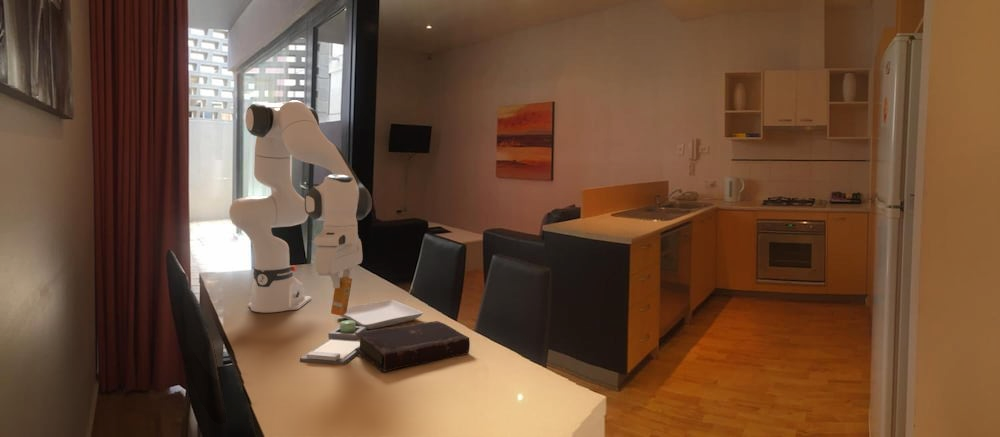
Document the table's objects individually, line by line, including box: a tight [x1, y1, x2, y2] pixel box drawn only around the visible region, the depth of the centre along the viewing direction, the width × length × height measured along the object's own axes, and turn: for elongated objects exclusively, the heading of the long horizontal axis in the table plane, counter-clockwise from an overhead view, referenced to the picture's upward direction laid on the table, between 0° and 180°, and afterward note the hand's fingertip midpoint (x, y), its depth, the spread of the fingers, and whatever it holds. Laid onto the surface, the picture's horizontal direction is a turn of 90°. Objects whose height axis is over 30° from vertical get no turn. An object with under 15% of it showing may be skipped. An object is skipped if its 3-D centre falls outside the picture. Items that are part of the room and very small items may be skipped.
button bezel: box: [327, 325, 367, 341], centre depth 159 cm, size 8×8×2 cm
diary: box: [355, 320, 471, 372], centre depth 146 cm, size 19×25×5 cm
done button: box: [339, 319, 357, 333], centre depth 159 cm, size 4×4×3 cm
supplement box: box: [330, 275, 353, 317], centre depth 148 cm, size 3×3×10 cm
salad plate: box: [341, 299, 424, 330], centre depth 177 cm, size 21×21×3 cm
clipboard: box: [299, 338, 360, 366], centre depth 146 cm, size 16×12×2 cm
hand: (341, 285), depth 148 cm, fingers closed on supplement box, 3 cm apart
